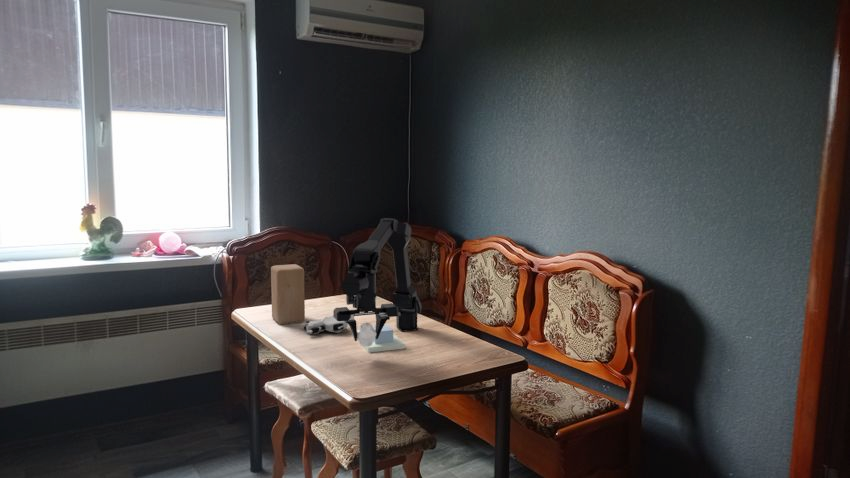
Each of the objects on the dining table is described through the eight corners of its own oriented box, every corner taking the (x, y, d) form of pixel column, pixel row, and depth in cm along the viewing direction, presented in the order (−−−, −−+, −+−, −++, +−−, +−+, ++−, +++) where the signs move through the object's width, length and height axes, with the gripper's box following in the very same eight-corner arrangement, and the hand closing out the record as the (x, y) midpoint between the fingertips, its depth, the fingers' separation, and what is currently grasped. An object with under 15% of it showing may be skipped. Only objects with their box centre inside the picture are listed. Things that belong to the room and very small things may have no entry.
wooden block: (278, 325, 224) (277, 270, 221) (271, 318, 232) (270, 265, 230) (305, 322, 228) (304, 268, 226) (297, 315, 237) (297, 263, 234)
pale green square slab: (393, 337, 210) (393, 333, 210) (404, 348, 199) (405, 344, 199) (358, 341, 206) (358, 336, 206) (368, 352, 195) (368, 347, 195)
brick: (387, 336, 206) (387, 325, 206) (393, 342, 201) (393, 330, 200) (370, 338, 204) (370, 326, 203) (375, 344, 198) (375, 331, 198)
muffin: (375, 341, 192) (375, 319, 191) (377, 347, 186) (377, 325, 185) (355, 342, 191) (355, 319, 190) (356, 348, 185) (355, 325, 184)
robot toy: (308, 341, 209) (351, 333, 214) (307, 328, 208) (350, 321, 213) (301, 331, 220) (342, 324, 225) (299, 319, 219) (341, 312, 224)
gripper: (388, 281, 197) (388, 329, 199) (329, 285, 191) (329, 335, 193) (399, 289, 187) (398, 339, 189) (337, 293, 180) (337, 346, 183)
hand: (366, 339), depth 189 cm, fingers closed on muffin, 6 cm apart
